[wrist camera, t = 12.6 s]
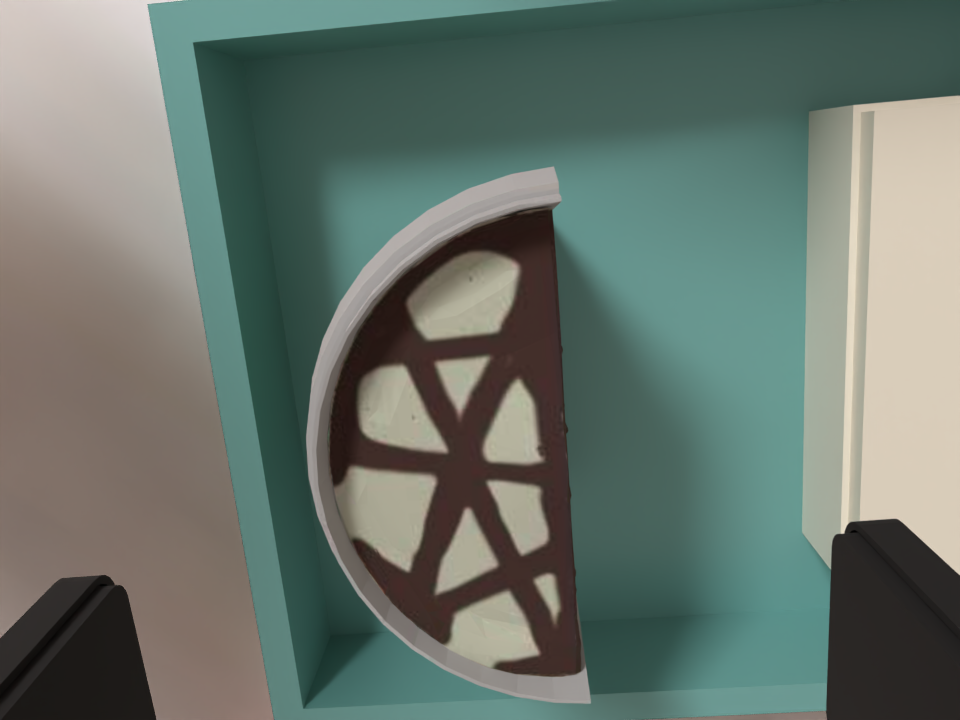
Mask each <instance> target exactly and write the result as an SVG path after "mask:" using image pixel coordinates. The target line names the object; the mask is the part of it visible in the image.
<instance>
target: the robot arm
mask: <svg viewBox="0 0 960 720" xmlns="http://www.w3.org/2000/svg"><path fill="white" fill-rule="evenodd" d="M826 714H827V720H960V575H959V574H958V573H957V572H956V571H955V570H953V569H952V568H951V567H950V566H949V565H948V564H947V563H946V562H945V561H944V560H943V559H942V558H940V557H939V556H938V555H937V554H936V553H935V552H934V551H933V550H932V549H931V548H930V547H929V546H927V545H926V544H925V543H924V542H923V541H922V540H921V539H920V538H919V537H918V536H917V535H916V534H914V533H913V532H912V531H911V530H910V529H909V528H908V527H907V526H906V525H905V524H904V523H903V522H901V521H900V520H898V519H882V520H868V521H854V522H850V523H849V524H848V525H847V526H846V529H845V533H844V534H836V535H835V536H834V538H833V540H832V551H831V581H830V610H829V639H828V669H827V698H826ZM0 720H156V716H155V712H154V707H153V703H152V699H151V694H150V690H149V686H148V681H147V677H146V673H145V668H144V664H143V660H142V655H141V651H140V647H139V642H138V638H137V634H136V629H135V625H134V621H133V616H132V612H131V608H130V603H129V599H128V595H127V592H126V590H125V589H124V587H122V586H121V585H115V584H114V582H113V581H112V580H111V578H110V577H108V576H106V575H101V576H87V577H73V578H62V579H60V580H58V581H57V582H56V583H55V584H54V585H53V586H52V587H51V588H50V589H49V590H48V591H47V592H46V593H45V594H44V595H43V596H42V597H41V598H40V599H39V600H38V601H37V602H36V603H35V604H34V605H33V606H32V607H31V608H30V609H29V610H28V611H27V612H26V613H25V614H24V615H23V616H22V617H21V618H20V619H19V620H18V621H17V622H16V623H15V624H14V625H13V626H12V627H11V628H10V629H9V630H8V631H7V632H6V633H5V634H4V635H3V636H2V637H1V638H0Z"/></svg>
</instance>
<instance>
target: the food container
mask: <svg viewBox="0 0 960 720" xmlns="http://www.w3.org/2000/svg"><path fill="white" fill-rule="evenodd" d="M561 201H562V199H561V196H560V194H559V182H558V178H557V175H556V172H555V168H554V166H553V167H548V168H542V169H537V170H531V171H526V172H520V173H514V174H510V175H507V176H504V177H501V178H498V179H495V180H492V181H489V182H487V183H484V184H481V185H478V186H475V187H472V188H469V189H467V190H465V191H463V192H461V193H459V194H457V195H455V196H454V197H452V198H450V199H448V200H446V201H444V202H442V203H440V204H438V205H437V206H435V207H433V208H431V209H429V210H428V211H426V212H425V213H424V214H422V215H421V216H420V217H418V218H417V219H416V220H414V221H413V222H412V223H410V224H409V225H408V226H406V227H405V228H404V229H402V230H401V231H400V232H398V233H397V234H396V235H394V236H393V237H392V238H391V239H390V240H389V241H388V242H387V244H386V245H385V246H384V247H383V248H382V249H381V250H380V251H379V252H378V253H377V254H376V255H375V256H374V257H373V258H372V259H371V260H370V261H369V262H368V263H367V264H366V266H365V267H364V268H363V269H362V271H361V272H360V274H359V275H358V276H357V278H356V279H355V281H354V282H353V284H352V285H351V287H350V288H349V290H348V291H347V293H346V294H345V296H344V297H343V299H342V300H341V301H340V303H339V305H338V308H337V310H336V312H335V314H334V316H333V318H332V321H331V323H330V325H329V327H328V329H327V331H326V334H325V336H324V338H323V340H322V344H321V348H320V351H319V355H318V359H317V362H316V366H315V370H314V373H313V377H312V384H311V394H310V404H309V414H308V423H307V433H306V445H307V461H308V477H309V481H310V486H311V490H312V494H313V499H314V503H315V507H316V512H317V516H318V518H319V521H320V523H321V525H322V528H323V530H324V533H325V535H326V538H327V540H328V542H329V545H330V547H331V550H332V552H333V553H334V555H335V557H336V559H337V561H338V563H339V565H340V566H341V568H342V570H343V571H344V573H345V574H346V576H347V578H348V579H349V581H350V583H351V584H352V586H353V587H354V589H355V591H356V592H357V594H358V595H359V597H360V598H361V599H362V600H363V601H364V602H365V604H366V605H367V606H368V607H369V608H370V610H371V611H372V612H373V613H374V614H375V615H376V617H377V618H378V619H379V620H380V621H381V622H382V624H383V625H385V626H386V627H387V628H388V629H389V630H390V631H391V632H393V633H394V634H395V635H396V636H397V637H398V638H399V639H401V640H402V641H403V642H404V643H405V644H406V645H408V646H409V647H410V648H411V649H412V650H414V651H415V652H417V653H419V654H420V655H422V656H423V657H425V658H426V659H428V660H429V661H431V662H433V663H434V664H436V665H437V666H439V667H440V668H442V669H444V670H446V671H448V672H450V673H452V674H454V675H456V676H459V677H461V678H463V679H465V680H467V681H470V682H472V683H474V684H476V685H478V686H481V687H485V688H488V689H491V690H495V691H498V692H502V693H505V694H508V695H512V696H515V697H520V698H527V699H533V700H540V701H546V702H553V703H585V704H591V699H590V691H589V684H588V677H587V669H586V662H585V655H584V647H583V640H582V633H581V626H580V618H579V611H578V604H577V596H576V592H577V588H576V582H575V577H576V569H575V564H574V551H573V537H572V522H571V504H570V499H571V496H572V495H571V490H570V486H569V468H568V452H567V437H566V433H568V427H567V425H566V422H565V404H564V388H563V367H562V353H563V347H562V345H561V328H560V311H559V295H558V279H557V263H556V250H555V237H554V224H553V211H552V210H553V209H554V208H555V207H556V206H557V205H558V204H559V203H560V202H561Z"/></svg>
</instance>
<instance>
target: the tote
mask: <svg viewBox="0 0 960 720" xmlns="http://www.w3.org/2000/svg"><path fill="white" fill-rule="evenodd" d="M148 10H149V16H150V21H151V27H152V33H153V38H154V44H155V50H156V55H157V61H158V67H159V72H160V78H161V83H162V89H163V95H164V100H165V106H166V112H167V117H168V123H169V129H170V134H171V140H172V146H173V151H174V157H175V163H176V168H177V174H178V180H179V185H180V191H181V197H182V202H183V208H184V213H185V219H186V225H187V230H188V236H189V242H190V247H191V253H192V259H193V264H194V270H195V276H196V281H197V287H198V293H199V298H200V304H201V310H202V315H203V321H204V327H205V332H206V338H207V344H208V349H209V355H210V360H211V366H212V372H213V377H214V383H215V389H216V394H217V400H218V406H219V411H220V417H221V423H222V428H223V434H224V440H225V445H226V451H227V457H228V462H229V468H230V474H231V479H232V485H233V490H234V496H235V502H236V507H237V513H238V519H239V524H240V530H241V536H242V541H243V547H244V553H245V558H246V564H247V570H248V575H249V581H250V587H251V592H252V598H253V604H254V609H255V615H256V621H257V626H258V632H259V637H260V643H261V649H262V654H263V660H264V666H265V671H266V677H267V683H268V688H269V694H270V700H271V705H272V711H273V717H274V720H643V719H664V718H685V717H705V716H726V715H747V714H768V713H789V712H810V711H826V698H827V669H828V639H829V610H830V581H831V569H830V568H829V567H828V566H827V564H826V563H825V562H824V560H823V559H822V558H821V557H820V555H819V554H818V553H817V551H816V550H815V549H814V547H813V546H812V545H811V544H810V542H809V541H808V540H807V538H806V537H805V536H804V535H803V533H802V505H803V445H804V384H805V324H806V263H807V203H808V143H809V111H816V110H823V109H830V108H837V107H844V106H851V105H860V104H871V103H882V102H893V101H904V100H915V99H926V98H938V97H949V96H960V0H184V1H174V2H165V3H155V4H148ZM553 166H554V168H555V172H556V175H557V178H558V182H559V194H560V196H561V199H562V201H561V202H560V203H559V204H558V205H557V206H556V207H555V208H554V209H553V210H552V211H553V224H554V237H555V250H556V263H557V279H558V295H559V311H560V328H561V345H562V347H563V353H562V367H563V388H564V404H565V422H566V425H567V427H568V433H566V437H567V452H568V468H569V486H570V490H571V495H572V496H571V499H570V504H571V522H572V537H573V551H574V564H575V569H576V577H575V582H576V588H577V592H576V596H577V604H578V611H579V618H580V626H581V633H582V640H583V647H584V655H585V662H586V669H587V677H588V684H589V691H590V699H591V704H585V703H553V702H546V701H540V700H533V699H527V698H520V697H515V696H512V695H508V694H505V693H502V692H498V691H495V690H491V689H488V688H485V687H481V686H478V685H476V684H474V683H472V682H470V681H467V680H465V679H463V678H461V677H459V676H456V675H454V674H452V673H450V672H448V671H446V670H444V669H442V668H440V667H439V666H437V665H436V664H434V663H433V662H431V661H429V660H428V659H426V658H425V657H423V656H422V655H420V654H419V653H417V652H415V651H414V650H412V649H411V648H410V647H409V646H408V645H406V644H405V643H404V642H403V641H402V640H401V639H399V638H398V637H397V636H396V635H395V634H394V633H393V632H391V631H390V630H389V629H388V628H387V627H386V626H385V625H383V624H382V622H381V621H380V620H379V619H378V618H377V617H376V615H375V614H374V613H373V612H372V611H371V610H370V608H369V607H368V606H367V605H366V604H365V602H364V601H363V600H362V599H361V598H360V597H359V595H358V594H357V592H356V591H355V589H354V587H353V586H352V584H351V583H350V581H349V579H348V578H347V576H346V574H345V573H344V571H343V570H342V568H341V566H340V565H339V563H338V561H337V559H336V557H335V555H334V553H333V552H332V550H331V547H330V545H329V542H328V540H327V538H326V535H325V533H324V530H323V528H322V525H321V523H320V521H319V518H318V516H317V512H316V507H315V503H314V499H313V494H312V490H311V486H310V481H309V477H308V461H307V445H306V433H307V423H308V414H309V404H310V394H311V384H312V377H313V373H314V370H315V366H316V362H317V359H318V355H319V351H320V348H321V344H322V340H323V338H324V336H325V334H326V331H327V329H328V327H329V325H330V323H331V321H332V318H333V316H334V314H335V312H336V310H337V308H338V305H339V303H340V301H341V300H342V299H343V297H344V296H345V294H346V293H347V291H348V290H349V288H350V287H351V285H352V284H353V282H354V281H355V279H356V278H357V276H358V275H359V274H360V272H361V271H362V269H363V268H364V267H365V266H366V264H367V263H368V262H369V261H370V260H371V259H372V258H373V257H374V256H375V255H376V254H377V253H378V252H379V251H380V250H381V249H382V248H383V247H384V246H385V245H386V244H387V242H388V241H389V240H390V239H391V238H392V237H393V236H394V235H396V234H397V233H398V232H400V231H401V230H402V229H404V228H405V227H406V226H408V225H409V224H410V223H412V222H413V221H414V220H416V219H417V218H418V217H420V216H421V215H422V214H424V213H425V212H426V211H428V210H429V209H431V208H433V207H435V206H437V205H438V204H440V203H442V202H444V201H446V200H448V199H450V198H452V197H454V196H455V195H457V194H459V193H461V192H463V191H465V190H467V189H469V188H472V187H475V186H478V185H481V184H484V183H487V182H489V181H492V180H495V179H498V178H501V177H504V176H507V175H510V174H514V173H520V172H526V171H531V170H537V169H542V168H548V167H553Z"/></svg>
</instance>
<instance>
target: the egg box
mask: <svg viewBox="0 0 960 720" xmlns="http://www.w3.org/2000/svg"><path fill="white" fill-rule="evenodd" d="M882 519H898V520H900V521H901V522H903V523H904V524H905V525H906V526H907V527H908V528H909V529H910V530H911V531H912V532H913V533H914V534H916V535H917V536H918V537H919V538H920V539H921V540H922V541H923V542H924V543H925V544H926V545H927V546H929V547H930V548H931V549H932V550H933V551H934V552H935V553H936V554H937V555H938V556H939V557H940V558H942V559H943V560H944V561H945V562H946V563H947V564H948V565H949V566H950V567H951V568H952V569H953V570H955V571H956V572H957V573H958V574H959V575H960V96H949V97H938V98H926V99H915V100H904V101H893V102H882V103H871V104H860V105H851V106H844V107H837V108H830V109H823V110H816V111H809V143H808V203H807V263H806V324H805V384H804V445H803V505H802V533H803V535H804V536H805V537H806V538H807V540H808V541H809V542H810V544H811V545H812V546H813V547H814V549H815V550H816V551H817V553H818V554H819V555H820V557H821V558H822V559H823V560H824V562H825V563H826V564H827V566H828V567H829V568H830V569H831V551H832V540H833V538H834V536H835V535H836V534H844V533H845V529H846V526H847V525H848V524H849V523H850V522H854V521H868V520H882Z"/></svg>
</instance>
